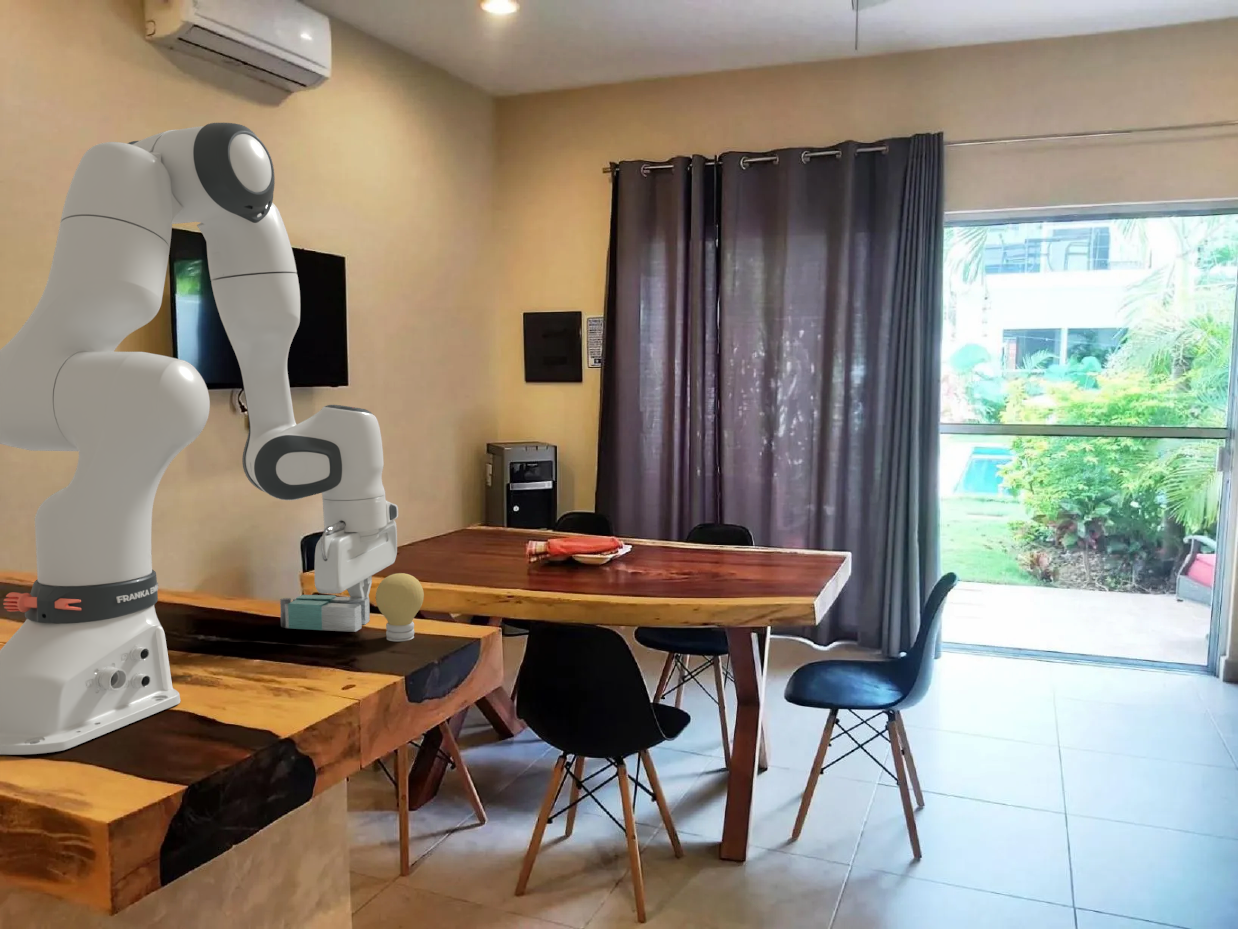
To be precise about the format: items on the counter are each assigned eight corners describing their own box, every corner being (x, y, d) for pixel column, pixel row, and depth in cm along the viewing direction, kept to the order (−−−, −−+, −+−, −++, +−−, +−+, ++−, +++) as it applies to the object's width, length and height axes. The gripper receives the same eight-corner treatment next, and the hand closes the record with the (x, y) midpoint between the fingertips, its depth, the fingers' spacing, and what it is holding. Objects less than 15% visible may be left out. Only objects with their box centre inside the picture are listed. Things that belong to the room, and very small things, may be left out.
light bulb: (375, 653, 120) (373, 579, 119) (377, 640, 126) (376, 569, 125) (424, 651, 121) (423, 577, 120) (424, 637, 127) (423, 568, 126)
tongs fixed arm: (355, 632, 126) (354, 604, 126) (277, 628, 128) (276, 600, 127) (361, 628, 128) (361, 601, 128) (285, 624, 130) (284, 597, 130)
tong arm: (365, 624, 130) (364, 599, 129) (293, 623, 130) (292, 598, 130) (369, 620, 132) (369, 595, 131) (299, 619, 132) (298, 594, 132)
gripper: (343, 529, 120) (349, 629, 122) (402, 504, 141) (407, 591, 142) (299, 528, 121) (305, 628, 123) (364, 504, 142) (369, 590, 143)
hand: (360, 608), depth 133 cm, fingers closed
